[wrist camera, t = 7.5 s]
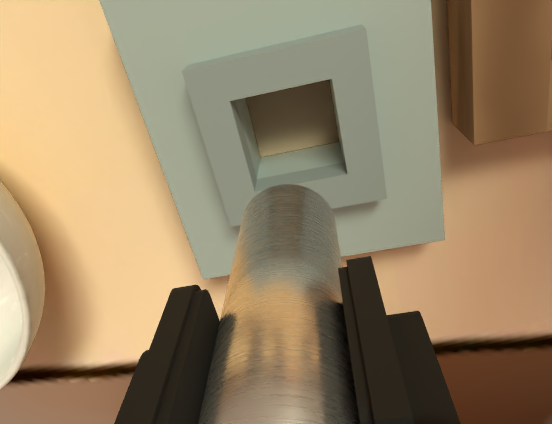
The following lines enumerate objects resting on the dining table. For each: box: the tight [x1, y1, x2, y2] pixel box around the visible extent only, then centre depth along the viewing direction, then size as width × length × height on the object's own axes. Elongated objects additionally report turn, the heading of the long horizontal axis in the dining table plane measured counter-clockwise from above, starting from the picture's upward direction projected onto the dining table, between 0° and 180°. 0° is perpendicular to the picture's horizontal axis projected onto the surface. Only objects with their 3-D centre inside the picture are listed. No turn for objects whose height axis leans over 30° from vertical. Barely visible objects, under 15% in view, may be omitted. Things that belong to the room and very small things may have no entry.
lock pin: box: [198, 184, 360, 424], centre depth 9 cm, size 3×3×12 cm
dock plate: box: [99, 0, 445, 279], centre depth 23 cm, size 14×16×4 cm
